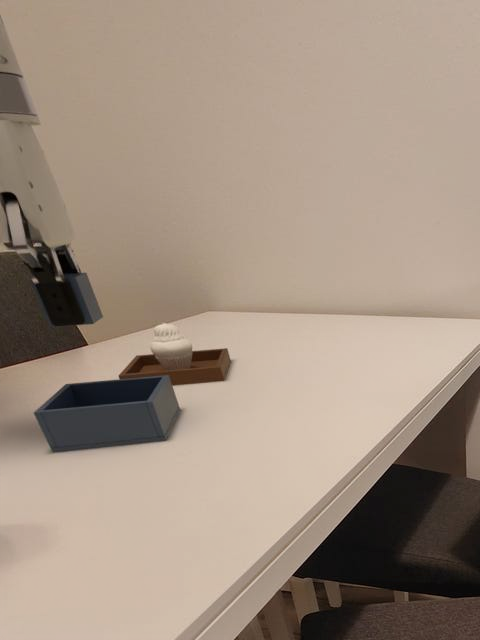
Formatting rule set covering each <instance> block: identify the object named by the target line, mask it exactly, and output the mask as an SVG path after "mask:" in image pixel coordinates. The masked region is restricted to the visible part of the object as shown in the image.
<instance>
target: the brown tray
mask: <svg viewBox="0 0 480 640" xmlns="http://www.w3.org/2000/svg"><path fill="white" fill-rule="evenodd" d="M192 353H193V354H192V360H191V365H190V369H178V370H166V369H165V368H164V367H163V365H162V364H161V363H160V362H159V361H158V360H157V359H156V358H155V355H154V354H153V353H150V354H138V355H135V356H134V358H132V360H131V361H129V363H128V364H127V365H126V367H125V368H124V369H123V370H122V371H121V372H120V373H119V374H118V379H130V378H141V377H153V376H164V375H169V377H170V380H171V383H172V386H184V385H194V384H196V385H197V384H206V383H216V382H225V380H226V377H227V374H228V371H229V368H230V365H231V362H232V360H231V357H230V352H229V349H228V347H225V348H212V349H202V350H192Z"/></svg>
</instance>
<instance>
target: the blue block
mask: <svg viewBox="0 0 480 640" xmlns="http://www.w3.org/2000/svg"><path fill="white" fill-rule="evenodd" d="M63 276H64V279H65V282H70V285H71V287H72V290H73V292H74V295H75V297H76V300H77V302H78V305H79V307H80V310H81V312H82V315H83V317H84V320H85V322H84V323H83V324H81V325H80V326H84V325H85V326H87V325H94V324H95V323H97V322H99V321H100V320H101V319H103V318H104V315H103V313H102V310H101V308H100V304H99V302H98V299H97V296H96V295H95V292H94V289H93V286H92V283H91V281H90V278H89V276H88V273H87V272H81V273H69V274H63ZM29 283H30V285H31V288H32V290H33V292H34V294H35V297H36V298H37V301H38V303H39V307H40V308H41V311H42V313H43V315H44V317H45V320H46V322H47V324H48V326H49V328H59V327H61V326H54V325H53V324H52V323H51V321H50V318H49V316H48V314H47V311H46V309H45V307H44V305H43V302H42V300H41V298H40V295H39V293H38V291H37V288H36V286H35V284H34V282H33V281H32V279H31V278H30V279H29ZM71 326H73V327H75V325H67V326H66V327H71Z"/></svg>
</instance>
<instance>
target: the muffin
mask: <svg viewBox="0 0 480 640" xmlns="http://www.w3.org/2000/svg"><path fill="white" fill-rule="evenodd" d="M153 333H154V336H153V340H152V341H151V343H150V347H149V349H150V351H151V354H154V355H155V358H156V359H157V360H158V361H159V362H160V363H161V364H162V365H163V367H164V368H165V369H166V370H178V369H190V365H191V360H192V354H193V353H192V351H193V344H192V342H191V341H190V340H189V339H188V338H186V337H185V336H184V335H183V334H182V333H181V331H180V329H179V328H178V326H176V325H174V324H172V323H165V322H162V323H161V324H158V325H155V328H154V329H153Z"/></svg>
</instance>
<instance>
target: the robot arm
mask: <svg viewBox="0 0 480 640" xmlns="http://www.w3.org/2000/svg"><path fill="white" fill-rule="evenodd" d="M41 124H42V123H41V119H40V118H39V116H38V112H37V109H36V106H35V104H34V101H33V99H32V96H31V93H30V91H29V88H28V84H27V83H26V80H25V78H24V75H23V72H22V70H21V67H20V64H19V61H18V59H17V56H16V54H15V51H14V48H13V45H12V42H11V40H10V37H9V34H8V32H7V29H6V26H5V24H4V22H3V18H2V16H1V15H0V246H2V247H3V248H4V249H6V250H8V251H15V253H16V254H17V255H18V257H20V258H21V260H22V262H23V264H24V265H25V266H26V267H27V269H28V270H27V271H28V273H29V276H30V280H31V279H32V281H33V282H34V284H35V286H36V288H37V291H38V293H39V295H40V298H41V300H42V302H43V305H44V307H45V309H46V311H47V314H48V316H49V318H50V321H51V323H52V324H53V325H54V326H60V327H68V326H67V325H74V326H82V325H81V324H83V323H84V322H85V320H84V317H83V315H82V312H81V310H80V307H79V305H78V302H77V300H76V297H75V295H74V292H73V290H72V287H71V285H70V282H65V279H64V276H63V274H69V273H82V270H81V267H80V265H79V263H78V261H77V259H76V255H75V253H74V250H73V249H72V242H73V241H74V239H75V231H74V228H73V225H72V221H71V218H70V215H69V212H68V210H67V206H66V204H65V202H64V199H63V197H62V195H61V191H60V189H59V187H58V185H57V181H56V180H55V177H54V174H53V172H52V170H51V168H50V167H51V166H50V165H49V162H48V160H47V158H46V156H45V151H44V150H43V148H42V146H41V144H40V142H39V139H38V137H37V135H36V133H35V130H34V128H33V127H35V126H36V127H37V126H40V125H41ZM35 244H37V246H34V245H35Z"/></svg>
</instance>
